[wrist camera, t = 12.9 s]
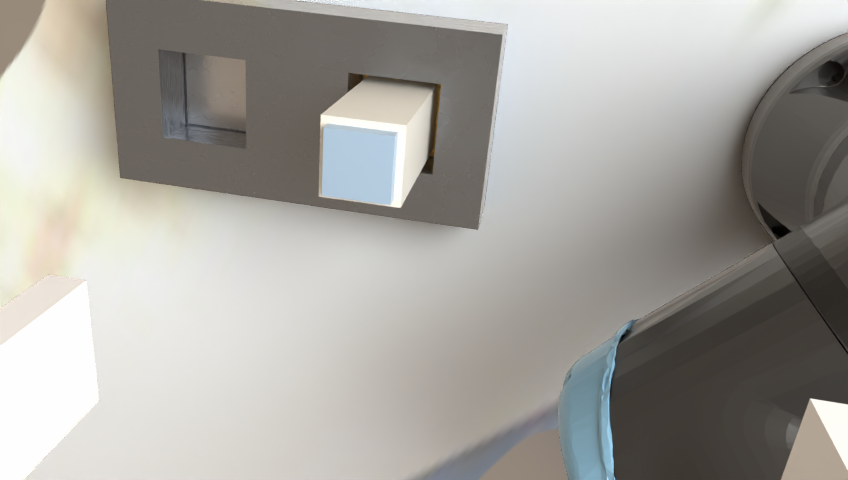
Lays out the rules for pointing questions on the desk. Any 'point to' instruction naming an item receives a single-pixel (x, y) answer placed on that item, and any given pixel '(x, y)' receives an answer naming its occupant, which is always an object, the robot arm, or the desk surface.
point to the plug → (377, 140)
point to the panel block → (295, 96)
